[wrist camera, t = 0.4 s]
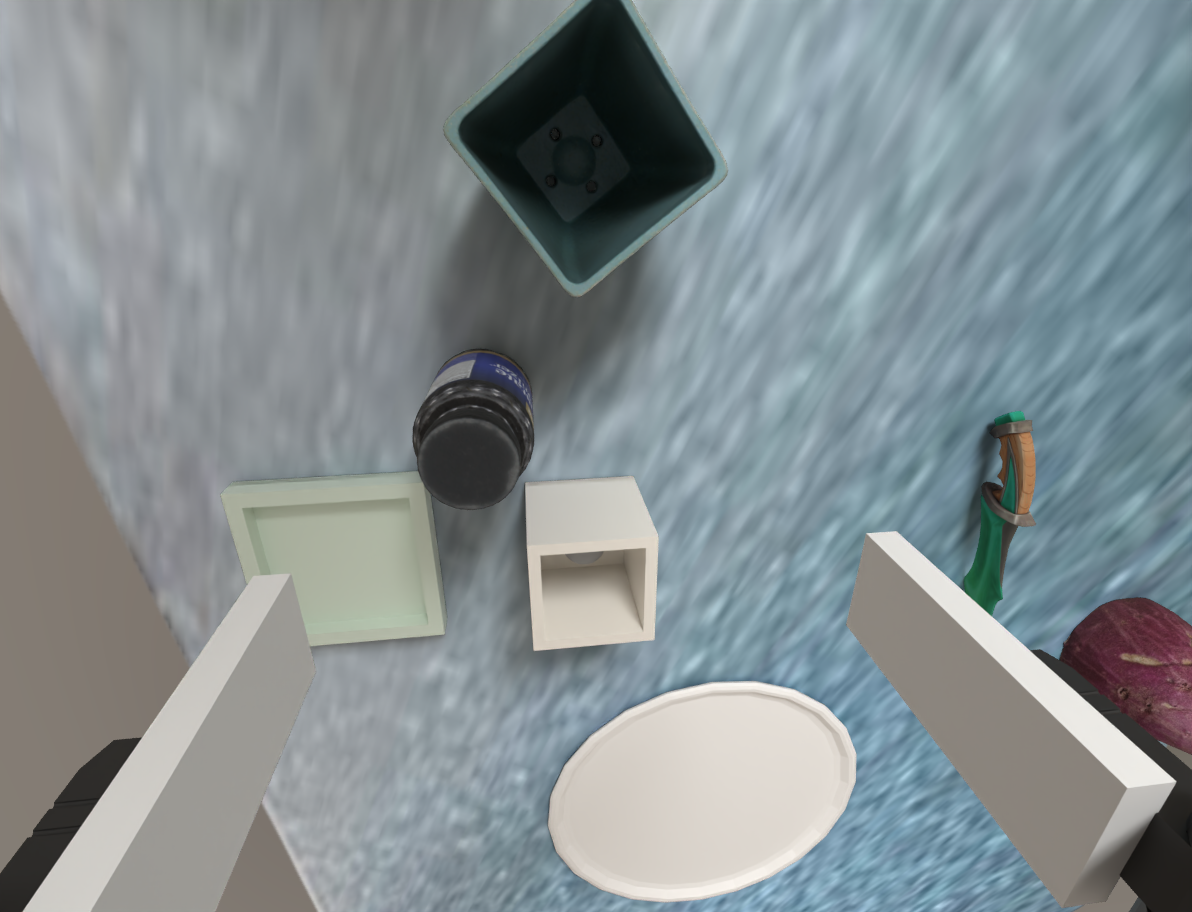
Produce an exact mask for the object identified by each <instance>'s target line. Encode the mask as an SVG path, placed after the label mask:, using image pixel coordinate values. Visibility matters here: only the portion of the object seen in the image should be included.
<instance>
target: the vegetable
mask: <svg viewBox="0 0 1192 912" xmlns="http://www.w3.org/2000/svg"><path fill="white" fill-rule="evenodd" d="M1060 661H1061V662H1063V663H1065V664H1067V665H1068V666H1070V667H1072V668H1073V669H1074V670H1076V671H1077V672H1078V673H1079V674H1080V675H1081V676H1083V677H1084V678H1085V679H1086V680H1087V681H1088V682H1090V683H1091V684H1092V685H1093V686H1094V687H1095V688H1097V689H1098V692H1099V694H1100V695H1105V696H1106V697H1107V698H1108V699H1109V700H1111V701H1112V702H1113V703H1114V704H1115V705H1116V706H1118V707H1119V708H1120V712H1121V713H1122V714H1125V713H1126V714H1127V715H1128V716H1129V717H1130V718H1132V719H1133V720H1134V721H1135V722H1136V723H1137V724H1139V725H1140V726H1141V727H1142V728H1143V729H1145V730H1146V731H1147V732H1148V733H1149V734H1150V735H1152V736H1153V737H1154V738H1155V739H1156V740H1158V741H1161V742H1163V743H1166V744H1168V745H1170V746H1172V747H1175V748H1177V749H1180V750H1182V751H1184V752H1187V753H1189V754H1191V755H1192V626H1191V625H1190V624H1188V623H1187V622H1186V621H1184V620H1183V619H1182V618H1180V617H1179V616H1178V615H1177V614H1175V613H1174V612H1172V611H1170V610H1169V609H1167V608H1165V607H1163V606H1161V605H1160V604H1158V603H1156V602H1154V601H1152V600H1150V599H1146V598H1141V597H1140V598H1126V599H1119V600H1114V601H1111V602H1108V603H1106V604H1103V605H1102V606H1100V607H1098V608H1097V609H1095V610H1094V611H1093V612H1092V613H1090V615H1088V616H1087V617H1086V618H1085V619H1084V621H1082V622H1081V623H1080V624H1079V625H1078V626H1077V627H1076V628H1075V629H1074V630H1073V632H1072V633H1071V635H1070V636H1069V638H1068V639H1067V640H1066V641H1065V642H1064V648H1063V650H1062V653H1061V656H1060Z"/></svg>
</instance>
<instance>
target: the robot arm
mask: <svg viewBox="0 0 1192 912" xmlns="http://www.w3.org/2000/svg"><path fill="white" fill-rule="evenodd" d="M846 625H847V626H848V628H849V629H850V630H851V632H852V633H853V634H854V636H855V637H856V638H857V640H858V641H859V642H860V644H861V645H862V646H863V647H864V649H865V650H866V651H867V653H868V654H869V655H870V657H871V658H872V659H873V661H874V662H875V663H876V665H877V666H878V667H879V668H880V670H881V671H882V672H883V674H884V675H885V676H886V678H887V679H888V680H889V682H890V683H891V684H892V686H893V687H894V688H895V689H896V691H897V692H898V693H899V695H900V696H901V697H902V699H903V700H904V701H905V703H906V704H907V705H908V707H909V708H910V709H911V710H912V712H913V713H914V714H915V716H916V717H917V718H918V720H919V721H920V722H921V724H922V725H923V726H924V728H925V729H926V730H927V731H928V733H929V734H930V735H931V737H932V738H933V739H934V741H935V742H936V743H937V745H938V746H939V747H940V748H941V750H942V751H943V752H944V754H945V755H946V756H947V758H948V759H949V760H950V762H951V763H952V764H953V766H954V767H955V768H956V769H957V771H958V772H959V773H960V775H961V776H962V777H963V779H964V780H965V781H966V783H967V784H968V785H969V787H970V788H971V789H972V790H973V792H974V793H975V794H976V796H977V797H978V798H979V800H980V801H981V802H982V804H983V805H984V806H985V808H986V809H987V810H988V811H989V813H990V814H991V815H992V817H993V818H994V819H995V821H996V822H997V823H998V825H999V826H1000V827H1001V829H1002V830H1003V831H1004V832H1005V834H1006V835H1007V836H1008V838H1009V839H1010V840H1011V842H1012V843H1013V844H1014V846H1015V847H1016V848H1017V850H1018V851H1019V852H1020V853H1021V855H1022V856H1023V857H1024V859H1025V860H1026V861H1027V863H1028V864H1029V865H1030V867H1031V868H1032V869H1033V871H1034V872H1035V873H1036V874H1037V876H1038V877H1039V878H1040V880H1041V881H1042V882H1043V884H1044V885H1045V886H1046V888H1047V889H1048V890H1049V891H1050V893H1051V894H1052V895H1053V897H1054V898H1055V899H1056V901H1057V902H1058V903H1059V905H1060V906H1061V907H1062V908H1066V907H1072V906H1079V905H1085V904H1092V903H1099V902H1105V901H1106V900H1107V899H1108V897H1109V895H1110V894H1111V892H1112V890H1113V889H1114V887H1115V885H1116V884H1117V882H1118V880H1119V879H1120V877H1122V878H1123V880H1124V881H1125V882H1126V883H1127V884H1128V885H1129V886H1130V888H1131V889H1132V890H1133V891H1134V892H1135V893H1136V894H1137V896H1138V898H1137V900H1136V902H1135V903H1134V905H1133V906H1132V908H1131V910H1130V911H1129V912H1192V770H1191V769H1190V768H1189V767H1188V766H1187V765H1185V764H1184V763H1183V762H1182V761H1181V760H1180V759H1178V758H1177V757H1176V756H1175V755H1174V754H1172V753H1171V752H1170V751H1169V750H1168V749H1167V748H1166V747H1164V746H1163V745H1162V744H1161V743H1160V742H1159V741H1157V740H1156V739H1155V738H1154V737H1153V736H1152V735H1150V734H1149V733H1148V732H1147V731H1146V730H1145V729H1143V728H1142V727H1141V726H1140V725H1139V724H1137V723H1136V722H1135V721H1134V720H1133V719H1132V718H1130V717H1129V716H1128V715H1127V714H1126V713H1125V714H1122V713H1121V712H1120V708H1119V707H1118V706H1116V705H1115V704H1114V703H1113V702H1112V701H1111V700H1109V699H1108V698H1107V697H1106V696H1105V695H1100V694H1099V692H1098V689H1097V688H1095V687H1094V686H1093V685H1092V684H1091V683H1090V682H1088V681H1087V680H1086V679H1085V678H1084V677H1083V676H1081V675H1080V674H1079V673H1078V672H1077V671H1076V670H1074V669H1073V668H1072V667H1070V666H1068V665H1067V664H1065V663H1063V662H1061V661H1060V660H1058V659H1056V658H1054V657H1053V656H1051V655H1049V654H1047V653H1046V652H1044V651H1042V650H1040V649H1039V650H1028V649H1027V648H1026V647H1025V646H1024V645H1023V644H1022V643H1021V642H1020V641H1018V640H1017V639H1016V638H1015V637H1014V636H1013V635H1012V634H1011V633H1009V632H1008V631H1007V630H1006V629H1005V628H1004V627H1003V626H1002V625H1000V624H999V623H998V622H997V621H996V620H995V619H994V618H993V617H992V616H990V615H989V614H988V613H987V612H986V611H985V610H984V609H983V608H981V607H980V606H979V605H978V604H977V603H976V602H975V601H974V600H972V599H971V598H970V597H969V596H968V595H967V594H966V593H965V592H964V591H962V590H961V589H960V588H959V587H958V586H957V585H956V584H955V583H953V582H952V581H951V580H950V579H949V578H948V577H947V576H946V575H944V574H943V573H942V572H941V571H940V570H939V569H938V568H937V567H935V566H934V565H933V564H932V563H931V562H930V561H929V560H928V559H927V558H925V557H924V556H923V555H922V554H921V553H920V552H919V551H918V550H916V549H915V548H914V547H913V546H912V545H911V544H910V543H909V542H907V541H906V540H905V539H904V538H903V537H902V536H901V535H900V534H899V533H897V532H896V531H895V532H881V533H866V537H865V542H864V546H863V551H862V556H861V560H860V565H859V569H858V574H857V578H856V583H855V587H854V592H853V597H852V601H851V606H850V610H849V615H848V619H847V624H846ZM315 673H316V668H315V664H314V661H313V657H312V653H311V649H310V645H309V641H308V637H307V633H306V629H305V626H304V622H303V618H302V614H301V610H300V606H299V602H298V598H297V594H296V591H295V587H294V583H293V579H292V575H291V573H289V574H275V575H260V576H253V577H252V579H251V580H250V582H249V583H248V584H247V586H246V587H245V589H244V590H243V592H242V593H241V595H240V596H239V598H238V599H237V600H236V602H235V603H234V605H233V606H232V608H231V609H230V611H229V612H228V614H227V615H226V616H225V618H224V619H223V621H222V622H221V624H220V625H219V627H218V628H217V630H216V631H215V632H214V634H213V635H212V637H211V638H210V640H209V641H208V643H207V644H206V646H205V647H204V648H203V650H202V651H201V653H200V654H199V656H198V657H197V659H196V660H195V662H194V663H193V664H192V666H191V667H190V669H189V670H188V672H187V673H186V675H185V676H184V678H183V679H182V680H181V682H180V683H179V685H178V686H177V688H176V689H175V691H174V692H173V694H172V695H171V697H170V698H169V699H168V701H167V702H166V704H165V705H164V707H163V708H162V710H161V711H160V713H159V714H158V716H157V717H156V718H155V720H154V721H153V723H152V724H151V726H150V727H149V729H148V730H147V731H146V733H145V734H144V736H143V737H142V738H132V739H122V740H114V741H113V742H111V743H110V744H109V745H108V746H107V747H106V748H104V749H103V750H102V751H101V752H100V753H98V754H97V755H96V756H95V757H93V758H92V759H91V760H90V761H89V762H88V763H86V764H85V765H84V766H83V767H82V768H80V769H79V770H78V772H77V773H76V774H75V776H74V777H73V778H72V780H71V781H70V782H69V784H68V785H67V786H66V788H65V789H64V790H63V792H62V793H61V794H60V795H59V797H58V798H57V799H56V801H55V802H54V807H53V809H49V810H48V811H47V813H46V814H45V815H44V817H43V818H42V819H41V821H40V822H39V823H38V824H37V826H36V827H35V828H34V830H33V835H32V837H29V838H27V839H26V840H25V842H24V843H23V844H22V846H21V847H20V848H19V849H18V851H17V852H16V853H15V855H14V856H13V857H12V859H11V860H10V861H9V863H8V864H7V865H6V867H5V868H4V869H3V871H2V872H1V873H0V912H215V911H216V909H217V906H218V904H219V902H220V899H221V897H222V895H223V892H224V890H225V888H226V885H227V883H228V880H229V878H230V875H231V873H232V871H233V868H234V866H235V864H236V861H237V859H238V857H239V854H240V852H241V849H242V847H243V844H244V842H245V840H246V837H247V835H248V833H249V830H250V828H251V825H252V823H253V821H254V818H255V816H256V814H257V811H258V809H259V806H260V804H261V802H262V799H263V797H264V795H265V792H266V790H267V787H268V785H269V783H270V780H271V778H272V775H273V773H274V771H275V768H276V766H277V764H278V761H279V759H280V756H281V754H282V752H283V749H284V747H285V744H286V742H287V740H288V737H289V735H290V733H291V730H292V728H293V725H294V723H295V721H296V718H297V716H298V713H299V711H300V709H301V706H302V704H303V702H304V699H305V697H306V694H307V692H308V690H309V687H310V685H311V682H312V680H313V678H314V675H315Z"/></svg>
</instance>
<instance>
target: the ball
mask: <svg viewBox="0 0 1192 912" xmlns="http://www.w3.org/2000/svg"><path fill="white" fill-rule="evenodd" d="M603 552H604V551H597V552H584V553H570V554H565V555H566V556H567V557H568V558H569V559H570V560H571V561H573V562H575V563H577V564H590V563H593V562H595V561H596V560H598V559H599V558H600V557H601V555H602V554H603Z"/></svg>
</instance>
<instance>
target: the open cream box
mask: <svg viewBox="0 0 1192 912" xmlns="http://www.w3.org/2000/svg"><path fill="white" fill-rule="evenodd" d="M525 494H526V531H527V555H528V570H529V586H530V601H531V617H532V632H533V648H534V651H539V650H550V649H561V648H572V647H583V646H594V645H604V644H615V643H626V642H637V641H648V640H654V637H655V612H656V587H657V562H658V537H659V536H658V534H657V532H656V529H655V527H654V524H653V522H652V520H651V517H650V515H649V512H648V510H647V508H646V505H645V503H644V501H643V498H642V496H641V493H640V491H639V489H638V486H637V484H636V482H635V479H634V477H633V476H623V477H607V478H590V479H574V480H557V481H541V482H525ZM597 551H604V552H603V554H602V555H601V557H600V558H599V559H598V560H596V561H595V562H593V563H590V564H577V563H575V562H573V561H571V560H570V559H569V558H568V557H567V556H566V555H565V554H570V553H584V552H597Z"/></svg>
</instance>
